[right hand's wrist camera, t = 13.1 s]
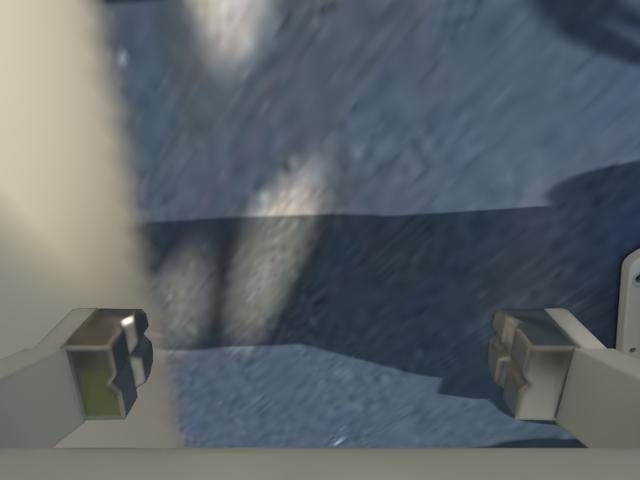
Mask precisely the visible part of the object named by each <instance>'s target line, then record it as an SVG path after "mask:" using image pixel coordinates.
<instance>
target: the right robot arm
mask: <svg viewBox="0 0 640 480" xmlns="http://www.w3.org/2000/svg"><path fill="white" fill-rule="evenodd" d="M638 275H639V277H638V278H636V277H637V276H638ZM491 326H492V328H493V329H494V331H495V332H496V335H495V336H494V337H493V338H492V339H491V340H490V341H489V343H488V350H487V361H488V368H489V371H490V375H491V377H492V379H493V380H494V382H495V383H496V384H497V385H499V386H500V387H502V388H503V389H504V391H503V399H504V401H505V402H506V404H507V406H508V408H509V409H510V411H511V413H512V415H513V417H514V418H515V419H522V420H556V421H555V422H556V423H557V424H558V425H559V426H561V427H562V428H563V429H565V430H566V431H567V432H568V433H570V434H571V435H572V436H574V437H575V438H576V439H577V440H579V441H580V442H581V443H583V444H584V445H585V446H586V447H588V448H52V447H54V446H55V445H56V444H58V443H59V442H60V441H61V440H63V439H64V438H65V437H67V436H68V435H69V434H70V433H72V432H73V431H74V430H75V429H77V428H78V427H79V426H81V425H82V424H83V423H84V422H85V421H84V420H117V419H125V418H126V417H127V415H128V413H129V411H130V409H131V408H132V406H133V404H134V402H135V401H136V399H137V392H136V389H137V388H138V387H139V386H141V385H143V384H144V383H145V382H146V380H147V378H148V377H149V375H150V371H151V367H152V363H153V349H152V343H151V341H150V340H149V339H148V338H147V337H146V336H145V335H144V332H145V331H146V329H147V328H148V321H147V316H146V313H145V312H144V311H143V310H142V309H98V308H81V309H74V310H72V311H71V312H70V313H69V314H68V315H67V316H66V317H65V318H64V319H63V320H62V321H61V322H60V323H59V324H58V325H57V326H56V327H55V328H54V329H53V330H52V331H51V332H50V333H49V334H48V335H47V336H46V337H45V338H43V339H42V340H41V341H40V342H39V343H38V344H37V345H36V346H35V347H34V348H30V349H24V350H21V351H19V352H17V353H15V354H12V355H10V356H8V357H5V358H3V359H1V360H0V480H640V248H639V249H637V250H636V251H634V252H632V253H631V254H630V255H628V256H627V257H626V258H625V259H624V261H623V263H622V268H621V282H620V296H619V310H618V323H617V337H616V349H610V348H606V347H605V346H604V345H603V344H602V343H601V342H600V341H599V340H598V339H597V338H596V337H595V336H594V335H592V334H591V333H590V332H589V331H588V330H587V329H586V328H585V327H584V326H583V325H582V324H581V323H580V322H579V321H578V320H577V319H576V318H575V317H574V316H573V315H572V314H571V313H570V312H569V311H568V310H566V309H563V308H549V309H512V310H496V312H495V314H494V316H493V320H492V325H491Z"/></svg>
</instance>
